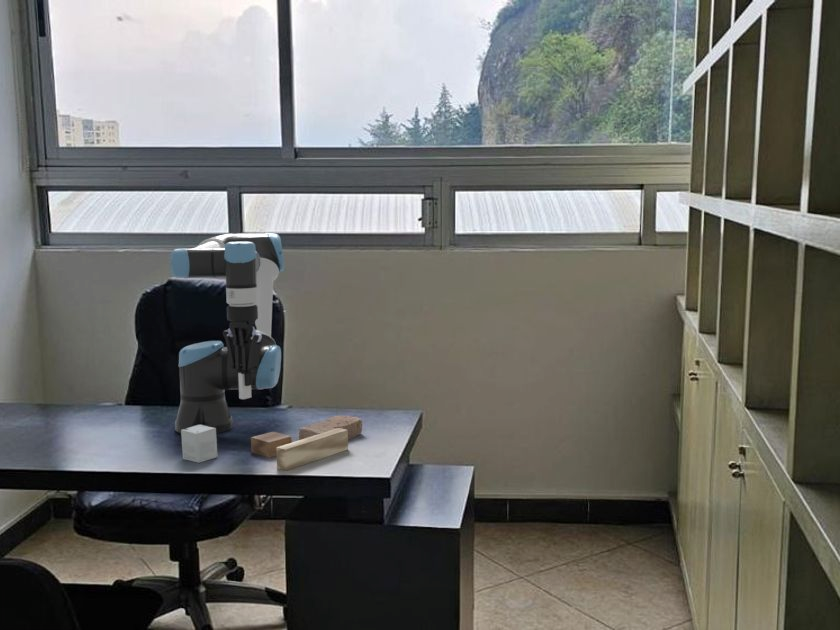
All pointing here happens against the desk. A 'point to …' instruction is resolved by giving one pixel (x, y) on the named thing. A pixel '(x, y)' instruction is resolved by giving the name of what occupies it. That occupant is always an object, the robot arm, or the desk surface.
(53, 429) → the desk surface
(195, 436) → the skincare box
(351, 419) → the brick
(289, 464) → the board
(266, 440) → the block
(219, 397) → the robot arm
